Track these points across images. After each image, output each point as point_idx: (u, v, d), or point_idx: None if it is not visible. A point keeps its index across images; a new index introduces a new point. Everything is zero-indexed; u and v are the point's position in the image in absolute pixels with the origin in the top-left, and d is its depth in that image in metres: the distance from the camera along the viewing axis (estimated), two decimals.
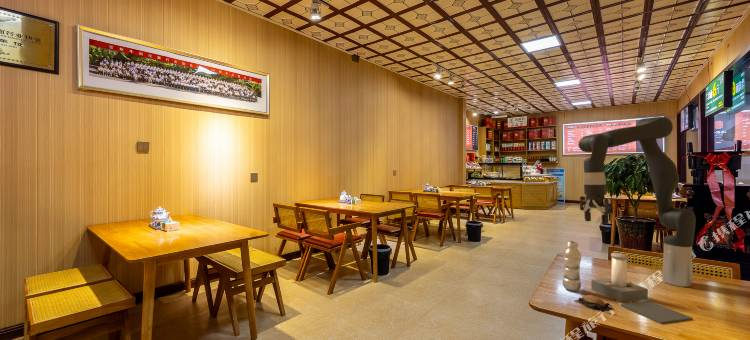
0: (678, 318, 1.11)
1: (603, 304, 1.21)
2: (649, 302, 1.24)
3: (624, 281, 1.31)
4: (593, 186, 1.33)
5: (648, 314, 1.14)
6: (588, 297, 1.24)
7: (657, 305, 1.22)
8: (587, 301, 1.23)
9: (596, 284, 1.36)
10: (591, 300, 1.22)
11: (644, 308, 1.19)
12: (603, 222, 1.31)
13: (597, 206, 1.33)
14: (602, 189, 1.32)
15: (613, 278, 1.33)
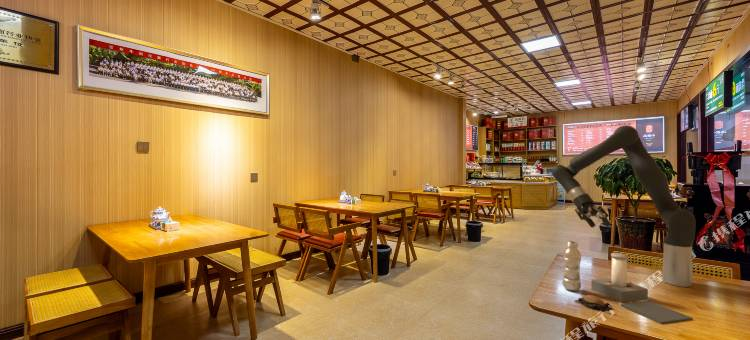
0: (678, 318, 1.11)
1: (603, 304, 1.21)
2: (649, 302, 1.24)
3: (624, 281, 1.31)
4: (574, 203, 1.60)
5: (648, 314, 1.14)
6: (588, 297, 1.23)
7: (657, 305, 1.22)
8: (587, 301, 1.22)
9: (596, 284, 1.36)
10: (591, 300, 1.22)
11: (644, 308, 1.19)
12: None
13: None
14: (577, 201, 1.57)
15: (613, 278, 1.33)
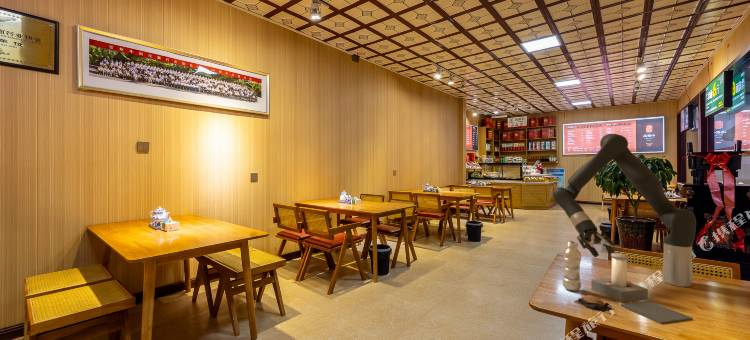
0: (678, 318, 1.11)
1: (603, 304, 1.21)
2: (649, 302, 1.24)
3: (624, 281, 1.31)
4: (576, 229, 1.51)
5: (648, 314, 1.14)
6: (588, 297, 1.23)
7: (657, 305, 1.22)
8: (587, 301, 1.22)
9: (596, 284, 1.36)
10: (591, 300, 1.22)
11: (644, 308, 1.19)
12: (594, 255, 1.39)
13: None
14: (579, 228, 1.48)
15: (613, 278, 1.33)
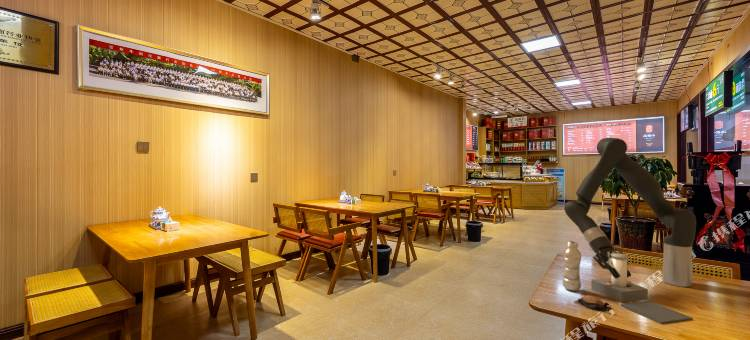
0: (678, 318, 1.11)
1: (602, 304, 1.21)
2: (649, 302, 1.24)
3: (624, 281, 1.31)
4: (590, 245, 1.44)
5: (648, 314, 1.14)
6: (587, 298, 1.23)
7: (657, 305, 1.22)
8: (587, 302, 1.22)
9: (596, 284, 1.36)
10: (591, 301, 1.21)
11: (644, 308, 1.19)
12: None
13: None
14: (593, 245, 1.40)
15: (613, 278, 1.33)
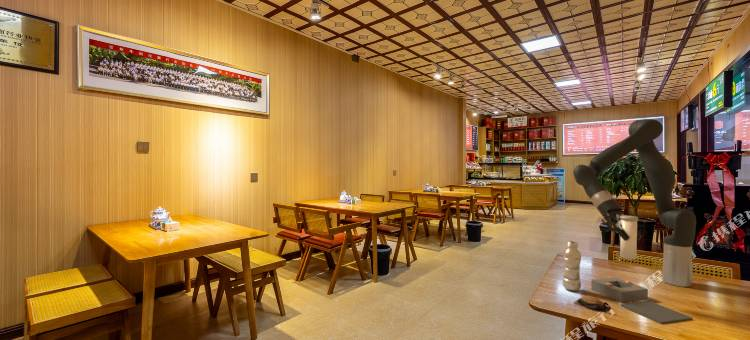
0: (678, 318, 1.11)
1: (602, 304, 1.21)
2: (649, 302, 1.24)
3: (634, 243, 1.26)
4: (598, 210, 1.39)
5: (648, 314, 1.14)
6: (587, 298, 1.22)
7: (657, 305, 1.22)
8: (587, 302, 1.21)
9: (596, 284, 1.36)
10: (591, 301, 1.21)
11: (644, 308, 1.19)
12: (624, 239, 1.27)
13: None
14: (602, 208, 1.35)
15: (622, 241, 1.28)
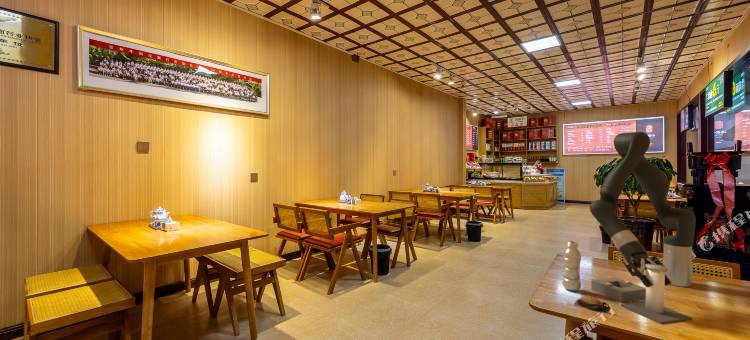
0: (678, 318, 1.11)
1: (602, 304, 1.21)
2: None
3: (662, 296, 1.15)
4: None
5: (648, 314, 1.14)
6: (587, 299, 1.22)
7: None
8: (588, 303, 1.21)
9: (596, 284, 1.36)
10: (592, 302, 1.20)
11: (644, 308, 1.19)
12: None
13: None
14: (624, 250, 1.24)
15: (649, 293, 1.17)
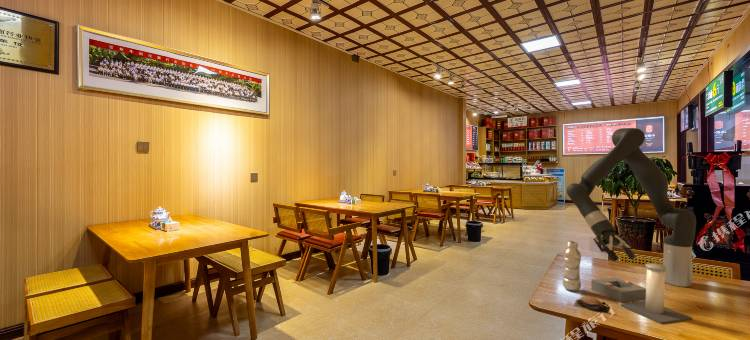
0: (678, 318, 1.11)
1: (602, 304, 1.21)
2: None
3: (662, 296, 1.15)
4: (591, 229, 1.40)
5: (648, 314, 1.14)
6: (587, 299, 1.22)
7: None
8: (588, 304, 1.20)
9: (596, 284, 1.36)
10: (592, 302, 1.20)
11: (644, 308, 1.19)
12: (612, 259, 1.29)
13: None
14: (595, 229, 1.37)
15: (649, 293, 1.17)
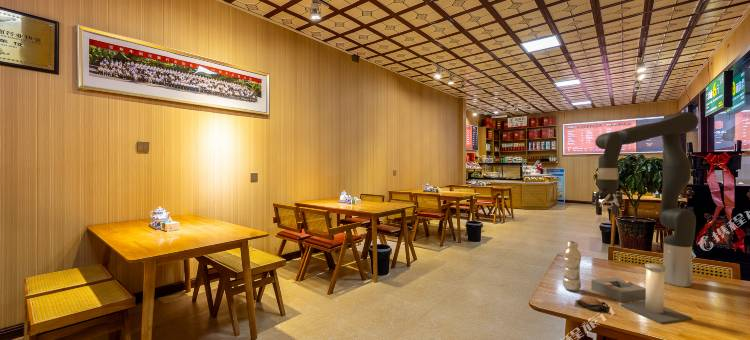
0: (678, 318, 1.11)
1: (601, 304, 1.20)
2: None
3: (661, 296, 1.15)
4: (597, 180, 1.48)
5: (648, 314, 1.14)
6: (588, 299, 1.21)
7: None
8: (589, 304, 1.20)
9: (596, 284, 1.36)
10: (593, 302, 1.20)
11: (644, 308, 1.19)
12: None
13: None
14: (600, 183, 1.45)
15: (648, 293, 1.17)
